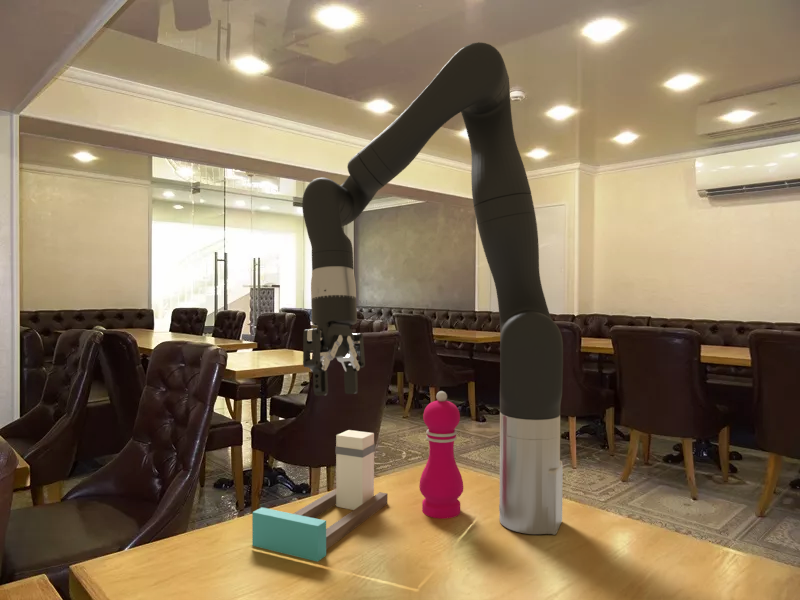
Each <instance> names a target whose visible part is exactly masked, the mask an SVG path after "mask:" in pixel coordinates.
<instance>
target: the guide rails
mask: <svg viewBox="0 0 800 600" xmlns="http://www.w3.org/2000/svg"><path fill="white" fill-rule="evenodd" d="M387 505H388V493H387V492H381V491H380V492H378V493H377V494H374V496H373V497H372V498H370V499H369V500H368V501H366V502H365V503H363V504H362V505H360V506H359V507H357V508H356V509H355V510H352V511H350V512H349V513H347V514H346V515H344V516H343V517H342V518H340V519H338V520H337V521H336V522H334V523H333V524H332V525H330V526H328V527H326V551H327V550H328V549H330V548H331V547H332V546H334V545H335V544H336V543H337V542H339V541H340V540H342V539H343V538H344V537H346V536H347V535H348V534H349V533H351V532H352V531H354V529H356V528H357V527H358V526H360V525H361V524H362V523H364V522H365V521H367V520H368V519H369V518H371V517H372V516H373V515H375V514H376V513H377V512H379V511H380V510H381V509H382V508H384V507H385V506H387ZM335 506H336V488H334V489H332V490H331V491H329V492H328V493H326V494H324V495H322V496H320V497H318V498H317V499H316V500H314V501H312V502H311V503H308V504H306V505H305V506H303V507H302V508H300V509H298V510H297V511H296V512H294V513H292V514H296V515H301V516H306V517H311V518H316V519H317V517H319V516H320V515H322V514H323V513H325V512H326V511H328V510H330V509H331V508H333V507H335Z"/></svg>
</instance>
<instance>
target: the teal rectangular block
mask: <svg viewBox="0 0 800 600" xmlns="http://www.w3.org/2000/svg"><path fill="white" fill-rule="evenodd" d="M251 526H252V529H251V530H252V541H251V543H252V544H251V545H252V547H257V548H261V549H264V550H265V549H266V550H269V551H272V552H276V553H280V554H285V555H289V556H293V557H297V558H301V559H305V560H309V561H314V562H319V561H321V560H322V559H324V557H326V556H327V550H326V529H327V520H325V519H320V518H317V517H316V518H311V517H306V516H301V515H296V514H293V513H291V512H286V511H281V510H276V509H273V508H272V509H271V508H267V507H262V506H261V507H260V508H258V509H256V510H254V511H252V525H251Z"/></svg>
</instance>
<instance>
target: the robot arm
mask: <svg viewBox="0 0 800 600" xmlns="http://www.w3.org/2000/svg"><path fill="white" fill-rule="evenodd" d="M510 86H511V85H510V77H509V74H508V70H507V67H506V63H505V61H504V58H503V56H502V55H501V53H500V51H499V50H498V49H497V48H496V47H495V46H494V45H491V44H490V43H486V42H480V41H479V42H472V43H470V44H467V45H465V46H463V47H462V48H460V49H459V50H458V51H457V52H456V53H454V55H452V57H451V58H450V59H449V60H448V61H447V62H446V63H445V64H444V66H443V67H442V68H441V69H440V71H438V73H437V74H436V75H435V77H433V79H432V80H431V82H430V83H429V84H428V85H427V86H426V87H425V89H423V90H422V92H421V93H420V94H419V95H418V96H417V97H416V98H415V99H414V100H413V101H412V102H411V103H410V105H409V106H407V107H406V109H404V111H403V112H401V114H399V115H398V117H397V118H396V119H394V121H392V122H391V124H390V123H389V125H388V126H387V127H385V129H384V130H383V131H382V132H380V133H379V134H378V135H377V136H375V137H374V138H373V139H372V140H371V141H370V142H369V143H368V144H367V145H365V146H364V147H362V148H361V150H359V151H358V152H357V153H356V154H354V156H353V157H351V159H350V160H348V163H347V171H348V174H349V175H348V177H347V178H346V179H345V180H344V182H342V183H341V184H339V183H337V182H336V181H334V180H332V179H330V178H327V177H316V178H314V179H312V181H311V182H309V183H308V184H307V186H305V187H306V188H305V189H304V191H303V195H302V205H301V206H302V215H303V219H304V224H305V227H306V232H307V235H308V239H309V243H310V245H311V280H310V296H311V297H310V300H311V302H310V303H311V323H312V325H313V326H314V327H315V328H308V329H304V330H303V338H302V339H303V341H302V342H303V344H302V345H303V347H302V349H303V351H302V354H303V355H302V356H303V357H302V366H303V367H304V368H309V370H310V371H311V372H312V382H313V383H312V385H313V386H312V387H313V394H314V395H315V396H316V397H319V396H320V397H321V396H328V394H329V381H328V378H329V377H328V372H329V371H327V370H328V367H329V366H330V362H331V361H333V360H334V359H336V360H337V362H339V363H341V365H342V367H343V370H344V372H343V376H344V378H343V380H344V381H343V382H344V393H345V394H346V395H354V394H358V392H359V389H358V387H359V384H358V383H359V379H358V371H360V369H361V368H365V366H366V358H365V347H364V346H365V345H364V344H365V343H364V335H363V333H362V332H361V333H360V332H359V333H358V332H357V333H353V331H352V330H353V329H352V326H354V325H355V324H357V322H358V311H357V285H356V278H355V273H354V251H353V249H354V248H353V243H352V241H351V239H350V238H349V237H348V236H347V235H346V233H345V232H344V229H343V227H345V226H348V225H349V224H352V223H353V222H354V221H355V220H356V219H358V217H360V215H361V214H362V213H363V212H364V210H365V209H366V207H367V206H368V205H369V204H370V202H372V200H373V199H374V197H375V196H376V194H377V193H378V191H379V190H381V189H382V188H384V187H385V186H386V185H387V184H389V182H391V181H392V180H393V179H395V177H397V176H399V174H401V172H403V171H404V170H405V169H406V168H407V167H408V166H409V165H411V163H412V162H413V161H414V160H415V159H416V158H417V156H418V155H419V154H420V152H421V151H422V150H423V148H424V147H425V146H426V144H427V143H428V142H429V141H430V139H431V138H432V137H433V136H434V134H436V133H437V131H438V130H440V128H442V126H444V125H446V123H447V122H448V121H450V120H451V119H453V117H455V116H456V115H458V114H459V113H461V116H462V119H463V122H464V123H463V124H464V126H465V129H466V134H467V137H468V140H469V146H470V151H471V154H470V155H471V173H470V174H471V176H470V177H471V195H472V196H471V197H472V204H473V209H474V214H475V220H476V223H477V224H476V225H477V229H478V234H479V238H480V241H481V242H480V243H481V245H482V248H483V252H484V255H485V258H486V261H487V263H488V267H489V269H490V270H489V271H490V274H491V276H492V278H493V281H494V282H493V283H494V286H495V291H496V297H497V307H498V314H499V329H500V333H499V334H500V337H499V340H500V341H499V342H500V344H499V346H500V349H499V351H500V352H499V353H500V357H499V362H500V364H499V367H500V368H499V372H500V375H499V376H500V378H499V379H500V380H499V382H500V383H499V505H498V509H499V510H498V512H499V522H500V524H501V525H502V526H503V527H505V528H507V529H508V530H510V531H513V532H517V533H522V534H527V535H547V534H548V535H557V532H558V531H559V529H560V526H561V524H562V521H563V476H564V475H563V473H564V472H563V468H564V467H563V466H564V465H563V461H562V460H561V405H562V404H561V403H562V397H563V375H564V374H563V373H564V372H563V371H564V370H563V369H564V342H563V336H562V332H561V329H560V328H559V326H558V325H557V323H556V322H555V321H554V320H553V319H552V317H551V313H550V311H549V308H548V304H547V301H546V297H545V293H544V290H543V286H542V280H541V275H540V253H539V252H540V249H539V248H540V247H539V233H538V223H537V217H536V216H537V215H536V210H535V206H534V200H533V197H532V191H531V187H530V183H529V179H528V176H527V172H526V168H525V165H524V162H523V159H522V157H521V154H520V151H519V148H518V145H517V144H518V143H517V142H516V138H515V137H516V136H515V132H514V124H513V116H512V106H511V105H512V104H511V91H510V90H511V89H510ZM312 352H313V353H312ZM311 353H312V358H311ZM357 357H358V360H357Z"/></svg>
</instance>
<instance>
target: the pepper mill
mask: <svg viewBox="0 0 800 600" xmlns="http://www.w3.org/2000/svg"><path fill="white" fill-rule="evenodd" d="M435 397H436V398H435V399H436V400H435V401H431V402H430V403H428V404H427V405H426V407H425V408H424V411H423V416H422V417H423V419H422V420H423V422H424V424H425V426H426V428H427V430H426V431H425V432H426V436H425V438H426V440H427V441H428V446H429V453H428V454H429V455H428V458H427V461H426V463H425V467H424V468H423V469H422V470H423V471H422V473H421V476H420V479H419V491H420V493H421V495H422V496H423V497H424V498H423V500H422V503H421V504H422V505H421V506H422V507H421V511H422V513H423V514H424V515H425V516H427V517H430V518H434V519H440V520H441V519H444V520H445V519H451V518H452V519H453V518H455V517H458V516H460V514H461V501H460V500H459V498H460V497H461V495H462V494H463V492H464V481H463V476H462V474H461V472H460V469H459V467H458V465H457V462H456V458H455V454H454V452H455V451H454V445H455V441H456V440H457V439H458V438H457V434H458V431H457V430H456V427H458V425H459V423H460V420H461V414H460V410H459V408H458V407H457V405H456V404H455V403H454V402H452V401H448V400H447V399H448V394H447V393H446V391H443V390H440V391H438V392H437V393H436V396H435Z"/></svg>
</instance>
